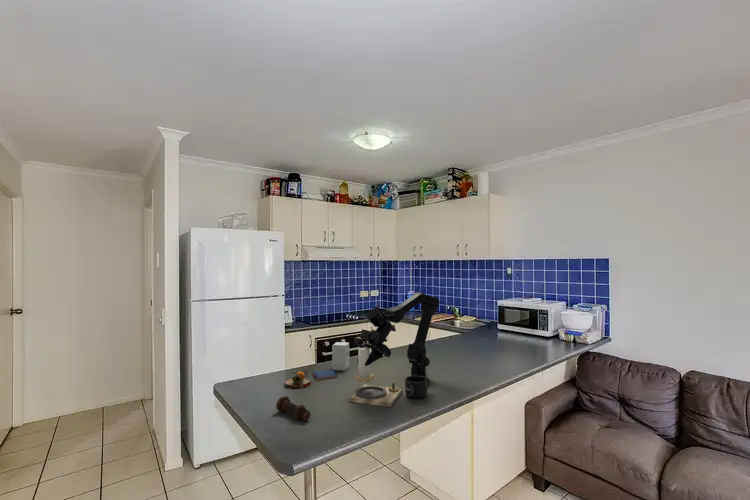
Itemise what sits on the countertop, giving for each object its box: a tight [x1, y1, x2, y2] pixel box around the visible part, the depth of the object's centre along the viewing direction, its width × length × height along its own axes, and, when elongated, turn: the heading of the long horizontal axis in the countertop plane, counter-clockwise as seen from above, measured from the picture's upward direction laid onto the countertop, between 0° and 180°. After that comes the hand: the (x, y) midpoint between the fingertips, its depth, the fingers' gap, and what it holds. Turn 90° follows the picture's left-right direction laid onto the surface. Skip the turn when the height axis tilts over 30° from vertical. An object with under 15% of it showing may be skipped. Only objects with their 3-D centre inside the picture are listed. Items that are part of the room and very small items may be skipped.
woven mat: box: [312, 368, 338, 381], centre depth 175 cm, size 10×11×2 cm
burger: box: [284, 369, 312, 390], centre depth 164 cm, size 12×12×8 cm
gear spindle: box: [354, 347, 375, 384], centre depth 150 cm, size 8×8×12 cm
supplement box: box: [331, 341, 350, 371], centre depth 187 cm, size 7×7×13 cm
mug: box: [404, 375, 431, 400], centre depth 149 cm, size 12×9×7 cm
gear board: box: [349, 382, 403, 408], centre depth 148 cm, size 17×16×4 cm
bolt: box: [275, 395, 312, 421], centre depth 131 cm, size 6×5×15 cm
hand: (361, 364), depth 150 cm, fingers closed on gear spindle, 5 cm apart
